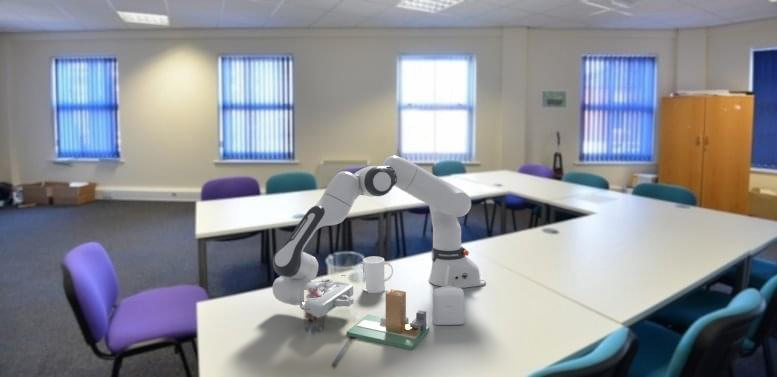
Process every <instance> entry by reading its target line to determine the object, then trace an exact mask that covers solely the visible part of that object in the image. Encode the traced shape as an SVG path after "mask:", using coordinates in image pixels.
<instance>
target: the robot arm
mask: <svg viewBox="0 0 777 377" xmlns="http://www.w3.org/2000/svg"><path fill="white" fill-rule="evenodd" d="M381 164H382V165H379V166H377V165H373V166H372V165H371V166H370V165H369V166H365V167H361V168H359V169H356V171H354V172H353V173H352V172H350V171H345V170H344V171H343V170H342V171H340V172H337V174H336V175H335V176H334V177H333V179H332V180H331V181H330V182H329V184H328V185H327V187H326V189H325V190H324V192H323V194H322V196H321V197H320V199H319V200H318V202H316V204H315V205H314V206H312V207H310V208H309V210H307V212H306V213H305V214H304V216H303V217H302V218H301V220H299V221H300V222H299V223H298V224H297V226H296V227H295V228H294V230H293V231H292V232H291V234H290V235H289V237H288V238H287V240H286V241H285V242H284V243H283V244H282V245H281V246H280V247H279V248H278V249H277V250H276V252H275V253H274V255H273V257H272V266H273V270H274V272H275V273H276V274H277V275H278V277H277V278H275V279H274V281H273V284H272V294H273V297H274V298H275V299H276V300H277V301H279V302H281V303H284V304H286V305H291V306H299V309H301V310H303V311H305V312H306V313H308V314H309V315H310V314H311V315H314V316H316V317H324V316H325V315H327V314H328V313H330V312H332V311H333V310H334V309H336V308H340V307H347V308H348V307H351V305H353V304H354V301H355V300H354V297H353V298H352V296H353V295H354V286H353V285H352V284H351V283H346V282H343V281H334V280H333V279H332V278H326V279H323V280H319V281H317V280H316V278H317V275H318V272H319V270H320V268H319V267H320V266H319V262H318V260H317V258H316V257H315V256H313V255H312V254H310V253H308V252H305V251H304V249H305V248H306V246H307V244H308V243H309V242H310V240H311V238H312V237H313V236H314V234H315V232H316V231H317V230H319V229H320V228H323V227H326V226H335V225H338V224H341V223H342V222H343V221H345V219H346V217H347V216H348V215H349V213H350V211H351V209H352V207H353V205H354V203H355V201H356V199H357V198H358V197H360V196H366V197H372V198H373V197H382V196H385V195H387V194H388V193H389V192H390V191H391V190H392V189H393V187H396V188H398V189H399V190H401V191H402V192H405V193H406V194H408V195H410V196H412V197H413V198H415V199H417V200H419V201H421V202H422V203H425V204H426V205H428V206H429V213H430V217H431V218H430V219H431V223H432V247H431V261H432V263H431V268H430V269H431V270H430V275H429V278H428V281H429V283H431V284H433V285H434V286H439V287H447V286H451V287H458V288H461V289H464V288H472V287H482V286H485V285H486V279H485V277H484V275H482V274H481V273H480V269H479V267H478V265H477V264H476V263H475V261H473V260H472V259H471V258H469V257H468V256H469V254H470V252H469V250H467V249H466V248H465V247H464V246H463V245H462V227H461V225H460V222H459V219H458V218H461V217H462V218H463V216H465V215H467V214H468V213H469V212H470V210H471V207H472V200H471V197H470V196H469V195H468V194H467V193H466V192H465V191H464V190H463V189H461V188H460V187H457V186H455V185H453V184H452V183H450V182H449V181H446V180H444V179H442V178H440V177H439V176H437V175H435V174H433V173H431V172H429V171H428V170H426V169H424V168H422V167H421V166H419V165H417V164H416V163H414V162H412V161H410V160H408V159H405V158H403V157H400V156H398V155H391V156H388V157H386V159H385V160H384V161H383V162H382V163H381ZM314 279H315V281H314V282H312V281H311V280H314ZM316 287H317V288H319V290H320V291H321V292H323V291H324V293H323V295H322V296H321V297H317V298H310V299H308V300H307V301H305V302H304V290H307V289H308V288H314V289H316Z"/></svg>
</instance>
